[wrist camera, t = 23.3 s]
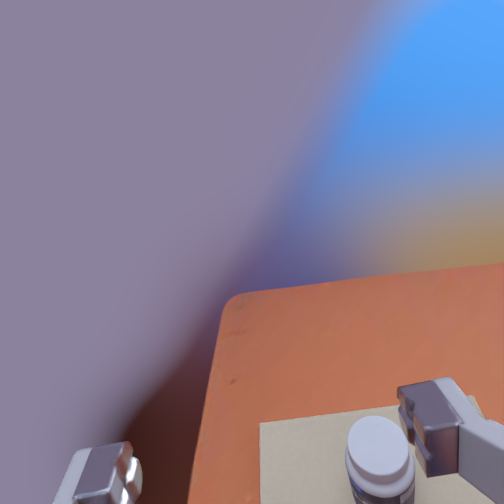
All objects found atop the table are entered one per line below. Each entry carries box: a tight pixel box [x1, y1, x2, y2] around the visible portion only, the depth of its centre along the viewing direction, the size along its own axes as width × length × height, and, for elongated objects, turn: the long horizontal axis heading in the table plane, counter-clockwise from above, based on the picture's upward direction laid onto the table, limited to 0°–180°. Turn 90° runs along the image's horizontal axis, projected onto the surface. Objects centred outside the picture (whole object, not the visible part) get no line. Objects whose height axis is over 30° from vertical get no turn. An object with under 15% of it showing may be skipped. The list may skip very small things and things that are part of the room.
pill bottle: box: [345, 416, 415, 504], centre depth 28 cm, size 5×5×8 cm
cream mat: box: [260, 395, 495, 504], centre depth 30 cm, size 20×14×1 cm
